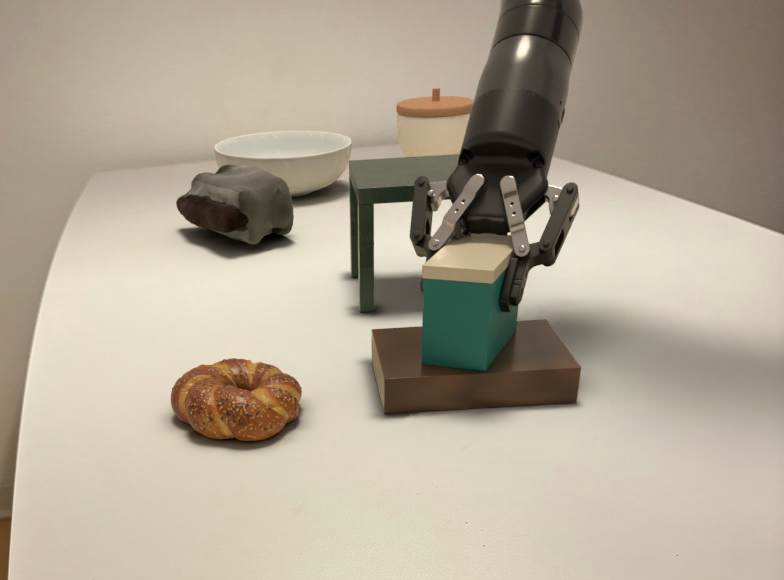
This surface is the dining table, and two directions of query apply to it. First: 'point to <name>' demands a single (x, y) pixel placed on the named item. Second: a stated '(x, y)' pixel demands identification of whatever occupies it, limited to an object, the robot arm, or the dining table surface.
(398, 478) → the dining table surface
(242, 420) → the pretzel
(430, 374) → the low shelf
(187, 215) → the rock
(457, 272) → the box
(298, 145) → the serving bowl
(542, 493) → the dining table surface
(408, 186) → the upper shelf
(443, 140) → the lidded bowl
